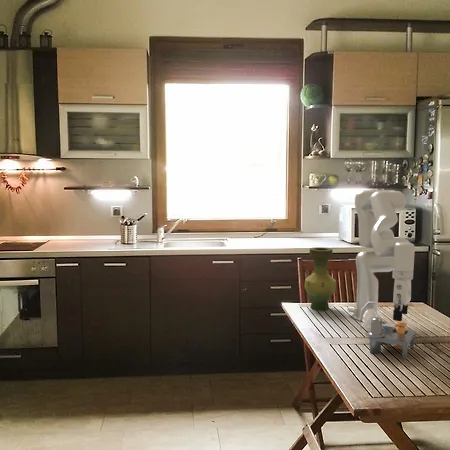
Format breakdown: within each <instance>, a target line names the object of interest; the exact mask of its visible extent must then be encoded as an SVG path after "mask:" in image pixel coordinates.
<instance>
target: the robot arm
mask: <svg viewBox="0 0 450 450" xmlns="http://www.w3.org/2000/svg"><path fill="white" fill-rule="evenodd" d="M406 203H407V201H406V196H405V195H404V193H403V192H402V191H399V190H397V191H396V190H390V189H389V190H388V189H382V190H381V189H379V190H378V189H377V190H376V189H375V190H374V189H366V190H361V191H360V190H359V191H358V192H357V193H356V195H355V197H354V207H355V211H356V214H357V218H358V243H359V246H360V247H361V248H363V249H373V251H372V250H370V251H367V250H366V251H361V252H358V254H357V255H356V257H355V265H356V280H357V281H356V306H355V307H352V306H348V307H347V312H349V313H353V314H352V318H353V319H354V320H357V321H359V318H360V313H361V309H362V308H363V307H364V305H365V304H366V303H367V302H375V304H374V303H373V309H374V311H375V312H376V314H377V316H378V318H381V315H379V314H378V303H379V301H378V300H379V279H378V278H377V277H376V275H374V274H375V273H389V272H391V273H392V279H394V283H393V285H394V286H393V296H392V297H393V299H392V300H393V301H392V303H393V304H394V305H393V314H392V320H393V321H395V322H397V321H401V322H403V315H407V314H408V309H409V303H410V301H411V299H412V280H414V269H415V268H414V267H415V266H414V265H415V249H416V248H415V245H414V243H412V242H410V241H409V240H408V239H406V238H395V235H394V232H393V230H392V229H391V228H393V227H394V226H395V225H396V224H397V223H398V219H399V217H398V215H397V212H396V211H398V212H399V211H403V210H404V209H405V208H406ZM367 306H368V305H367ZM367 306H366V307H365V308H364V309H363V310H362V314H361V319H360V322H363V315H364V313H365V312H366V311H367V309H368V308H367ZM381 319H382V318H381Z"/></svg>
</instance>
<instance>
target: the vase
mask: <svg viewBox="0 0 450 450" xmlns="http://www.w3.org/2000/svg"><path fill="white" fill-rule="evenodd" d="M309 257H312V259H313V263H314V267H313V269H314V272H313V273H311V274H310V275H309V276H307V277H306V278H305V280H304V284H303V285H304V286H303V288H304V290H305V291H306V293H307V295H308V297H309V299H310V301H311V303H310V307H309V308H310V309H311V310H314V311H321V312H322V311H328V310H329V309H330V305H329V300H330V299H331V297H333V294H334V293H335V291H336V289H337V280H336V279H335V278H333V277H332V276H331V275H330V274H329V273H328V270H327V269H328V261H329V259H330V258H332V257H333V248H330V247H323V246H322V247H316V246H315V247H310V248H309Z"/></svg>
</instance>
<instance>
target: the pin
mask: <svg viewBox="0 0 450 450" xmlns="http://www.w3.org/2000/svg"><path fill="white" fill-rule="evenodd" d="M394 324H395V328H396V333H399V334H405V329H406V327H407V326H408V323H407V322H405V321H395V322H394ZM405 335H406V334H405ZM394 345H395V344H394ZM394 347H395V349H397V350H403V346H401V345H395V346H394Z"/></svg>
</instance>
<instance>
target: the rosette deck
mask: <svg viewBox="0 0 450 450" xmlns="http://www.w3.org/2000/svg"><path fill="white" fill-rule="evenodd" d="M366 326H371V331H367V333H366V336H367V337H368V340H369V353H371V354H375V355H376V354H377V355H379V354H382V352H381V351H382V343H384V344H390V345H401V346H403V349H402V354H401V355H402V356H401V357H402V359H403V360H407V359H408V348H410V349H414V348H415V341H416V339H415V338H416V337H415V336H416V334H417V331H416V330H411V329H406V328H405V334H399V333H396V325H395V323H390V322H389V323H388V322H385V323H383V319H382V318H378V317H372V318H371V322H367V323H366Z"/></svg>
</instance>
